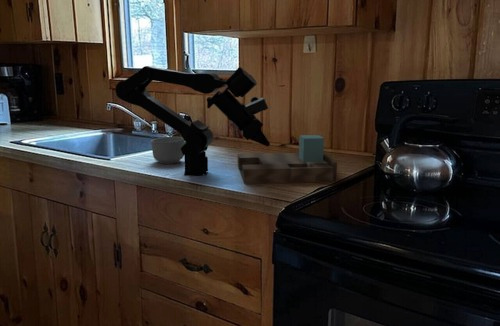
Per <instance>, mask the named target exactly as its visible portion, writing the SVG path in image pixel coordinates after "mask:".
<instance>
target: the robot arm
mask: <svg viewBox="0 0 500 326" xmlns="http://www.w3.org/2000/svg"><path fill="white" fill-rule="evenodd" d="M153 81H154V82H159V83H160V82H161V83H165V84H166V83H167V84H172V85H178V86H184V87H187V88H190V90H193V91H196V92H199V93H201V94H204V95H205V94H206V95H207V94H213V93H214V95H213V96H208V97H207V98H206V102H207V103H206V108H207V109H210V108H211V107H212V106H213V105H214V106H215V107H216V108H217V109H218V110H219V111H220V112H221V113H222V114H223V115H224V116H225V117H226V118H227V119H228V120H229V121H230V122H231V123H232V124H233V125H234V126H235V127H236V128H237V129H238V131H240V132H241V135H242V137H243V138H245V139H246V140H247V141H249V140H251V141H253V142H256V143H258V144H260V145H263V146H265V147H268V148H269V146H270V145H271V143H270V141H269V140H268V139H267V137H266V135H265V134H264V133H263V131H262V127H263V126H264V123H262V122H261V121H260V120H259V119H258V118H257V117H256V114H258V113H261V112H263V111H267V110H268V109H269V106H268V104H267V102H266V99H265V98H264V97H260V98H258V97H257V96H253V97H251V98H250V102H249V103H247V104H246V105H245V104H244V103H243V102H240V101H239V100H238V98H239V97H241V98H244V97H245V96H246V95H247V94H248V93H250V91H251V90H252V89H254V87H256V85H258V82H257V81H256V79H255V78H254V77H253V76H252V75H251V74H249V73H248V72H247V71H246V70H244V69H243V68H242V67H241V66H239V67H238V68H236V70H234V72H233V73H232V74H231V75H230V77H228V78H223V77H222V78H221V77H220V76H219V75H218V74H217V73H215V72H201V73H200V72H196V73H195V72H194V73H190V72H184V71H179V70H172V69H168V68H162V67H156V66H153V65H145V66H143V67H141V69H140V70H138V71H137V72H135V73H133V74H132V75H130V76H129V77H127V78H126V79H124V80H121V81H118V83H117V84H116V85H115V95H116V97H117V98H118V99H119V100H121V101H124V102H125V103H128V104H130V105H133V106H138V107H140V108H142V109H143V110H145V111H146V112H148V113H149V114H151V115H152V116H153V117H155V118H156V119H158V120H160V121H161V122H163V123H164V124H165V125H167V126H169V127H170V128H171V129H173V130H175V131H176V132H177V133H179V134H180V137H182V138H183V139H184V142H186V143H185V144H184V145H183V146H182V147H181V151H182V154H183V155H184V157H183V159H184V174H183V175H185V176H195V175H196V176H200V175H201V176H204V175H205V176H206V175H207V172H208V171H209V163H208V162H209V157H208V155H207V153H206V151H207V150H208V148H209V146H210V145H211V144H212V143H213V141H214V134H213V131H212V130H211V129H210V126H209V125H205V124H204V123H203V122H202V121H201V120H199V119H196V120H194V121H189V120H187V119H186V118H184V117H183V116H181V115H180V114H179V113H177V112H176V111H174V110H172V109H171V108H169V107H168V106H166V105H165V104H163V103H162V102H161V101H159V100H158V99H156V98H155V97H153V96H152V95H151V94H150V92H149V91H148V89H147V88H148V86H149V85H150V84H151V83H152V82H153ZM222 88H225V89H223V90H222V91H219V90H220V89H222ZM206 155H207V156H206Z"/></svg>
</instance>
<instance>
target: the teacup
mask: <svg viewBox="0 0 500 326" xmlns="http://www.w3.org/2000/svg"><path fill="white" fill-rule="evenodd" d="M184 142H185V141H184V139H183V138H182V136H161V137H157V138H154V139H151V140H150V143H151V150H152V156H153V159H154V160H155V161H157V162H158V163H159V164H161V163H162V165H171V164H177V163H179V162H180V161H181V160H182V159H184V155H183V154H182V151H181V147H182V146H183V145H184Z"/></svg>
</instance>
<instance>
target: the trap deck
mask: <svg viewBox="0 0 500 326" xmlns="http://www.w3.org/2000/svg"><path fill="white" fill-rule="evenodd" d="M237 169H238V171H239V174H240V176H241V179H242V182H243V184H244V185H245V184H247V185H248V184H251V185H252V184H285V183H286V184H287V183H289V184H290V183H291V184H292V183H293V184H294V183H324V182H325V183H326V182H327V183H328V182H337V169H338V162H337V161H336V160H335V159H333V158H332V157H331V156H329V155H328V154H326V153H325V152H324V153H323V162H303V161H302V160H301V159H300V158H299V152H289V153H287V152H285V153H283V152H282V153H281V152H280V153H279V152H277V153H275V152H274V153H272V152H271V153H237Z"/></svg>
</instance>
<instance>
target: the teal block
mask: <svg viewBox="0 0 500 326" xmlns="http://www.w3.org/2000/svg"><path fill="white" fill-rule="evenodd" d="M298 140H299V143H298V145H299V146H298V148H299V149H298V153H299V158H300V159H301V160H302V161H303V162H323V153H325V152H324V151H325V150H324V148H325V138H324V137H323V136H321V135H320V134H318V135H317V134H312V135H311V134H310V135H309V134H308V135H307V134H306V135H304V134H303V135H302V134H301V135H299V138H298Z"/></svg>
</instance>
